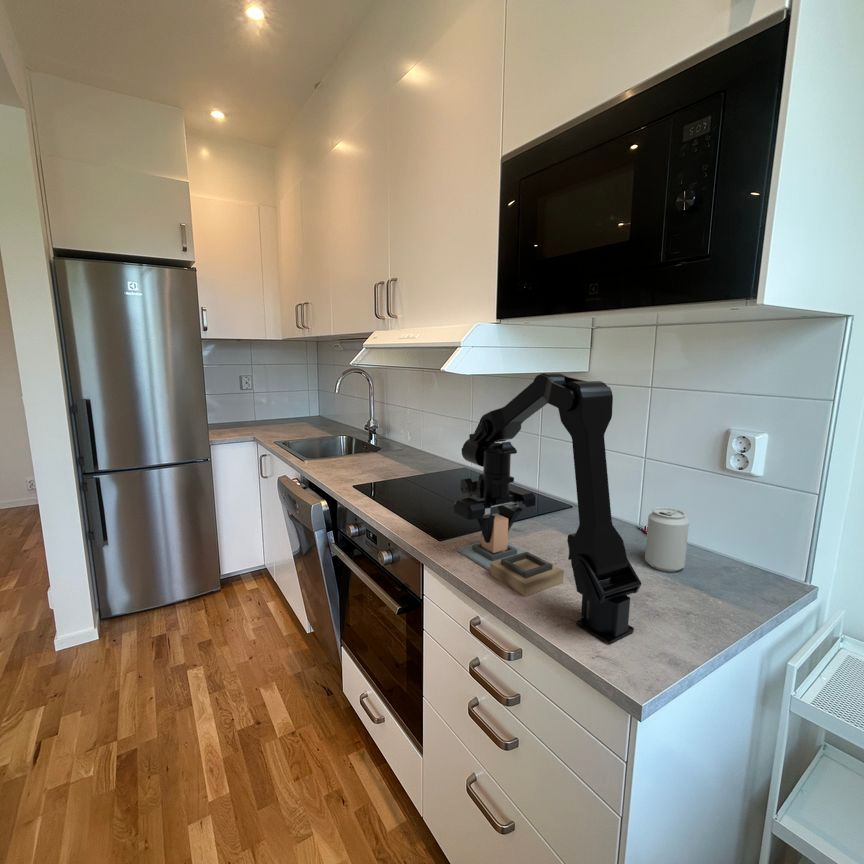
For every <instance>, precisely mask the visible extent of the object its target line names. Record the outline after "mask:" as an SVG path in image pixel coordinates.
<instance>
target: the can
mask: <svg viewBox="0 0 864 864" xmlns="http://www.w3.org/2000/svg"><path fill="white" fill-rule="evenodd" d="M651 511H652V512H651V513H650V514H648V519H647V530H646V542H645V555H644V560H645V561H646V562H647V564H649V566H651V568H653V569H655V570H658V571H662V572H668V573H674V572H678V571H680V570H681V569H683V568H685V566H686V557H687V556H686V555H687V547H688V546H687V545H688V539H689V538H688V536H689V535H688V534H689V527H690V522H689V519H688V518H687V517H686V516H687V513H686V512H684V511H683V510H680V509H677V508H675V507H674V508H673V507H666V506H658V507H654V508H652V510H651Z"/></svg>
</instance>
